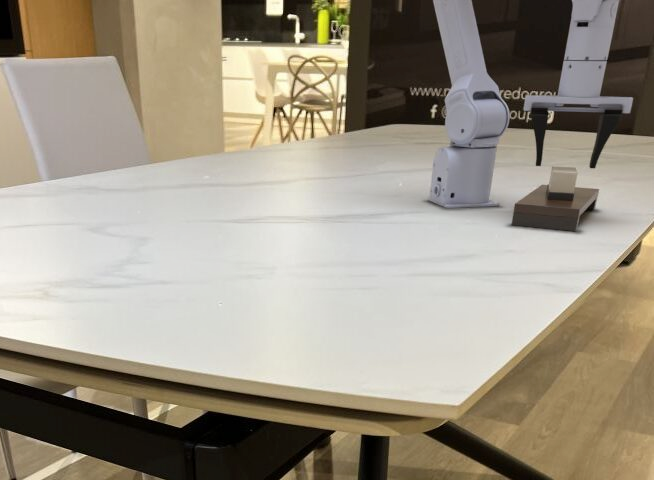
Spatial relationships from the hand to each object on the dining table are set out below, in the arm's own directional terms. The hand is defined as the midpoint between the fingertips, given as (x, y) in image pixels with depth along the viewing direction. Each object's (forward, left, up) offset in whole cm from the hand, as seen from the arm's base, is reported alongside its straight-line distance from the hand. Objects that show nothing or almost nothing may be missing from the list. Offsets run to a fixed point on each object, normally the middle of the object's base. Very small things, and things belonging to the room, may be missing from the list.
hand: (564, 166), depth 111 cm
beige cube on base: (0, 0, -4) cm, 4 cm away
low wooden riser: (0, 0, -7) cm, 7 cm away
